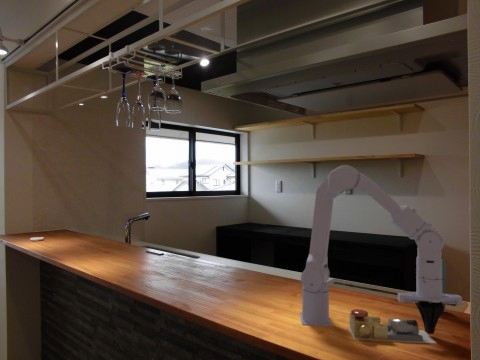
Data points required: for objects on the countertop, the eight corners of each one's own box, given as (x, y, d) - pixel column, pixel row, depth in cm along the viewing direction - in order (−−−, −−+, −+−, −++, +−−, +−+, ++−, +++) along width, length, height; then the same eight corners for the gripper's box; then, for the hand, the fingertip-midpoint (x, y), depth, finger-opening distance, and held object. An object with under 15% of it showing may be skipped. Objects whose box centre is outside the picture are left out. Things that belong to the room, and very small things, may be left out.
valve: (347, 325, 97) (347, 305, 97) (378, 327, 97) (378, 306, 97) (355, 340, 88) (355, 318, 88) (389, 342, 87) (389, 319, 87)
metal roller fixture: (347, 328, 97) (347, 322, 97) (423, 331, 95) (423, 325, 95) (354, 340, 89) (354, 334, 89) (436, 344, 87) (436, 338, 87)
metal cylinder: (387, 329, 94) (388, 315, 93) (412, 330, 93) (413, 316, 92) (392, 339, 90) (393, 324, 89) (418, 340, 89) (419, 325, 88)
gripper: (404, 280, 88) (404, 337, 87) (468, 282, 86) (468, 340, 86) (394, 273, 95) (394, 326, 94) (454, 275, 93) (454, 328, 93)
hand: (429, 332), depth 91 cm, fingers closed
